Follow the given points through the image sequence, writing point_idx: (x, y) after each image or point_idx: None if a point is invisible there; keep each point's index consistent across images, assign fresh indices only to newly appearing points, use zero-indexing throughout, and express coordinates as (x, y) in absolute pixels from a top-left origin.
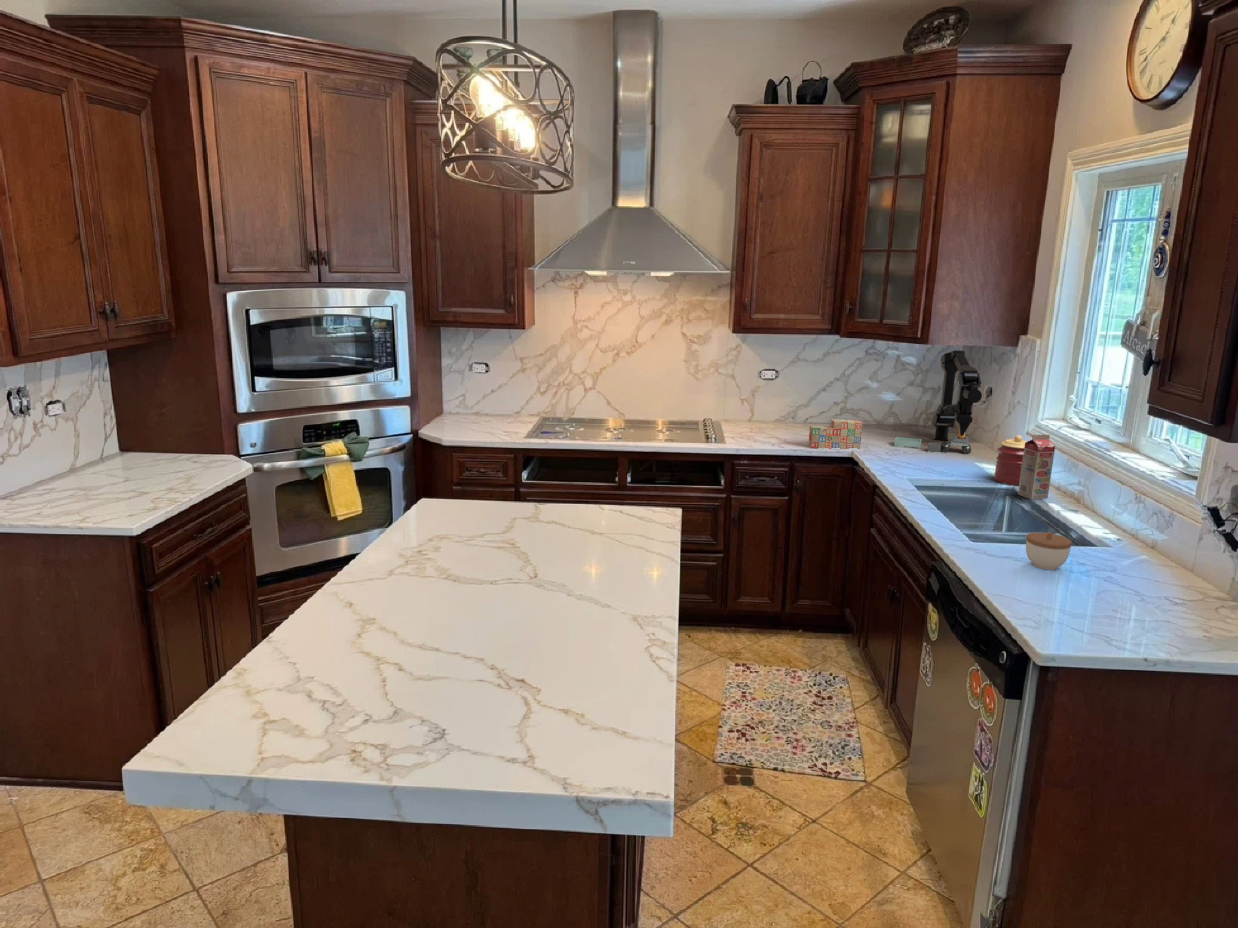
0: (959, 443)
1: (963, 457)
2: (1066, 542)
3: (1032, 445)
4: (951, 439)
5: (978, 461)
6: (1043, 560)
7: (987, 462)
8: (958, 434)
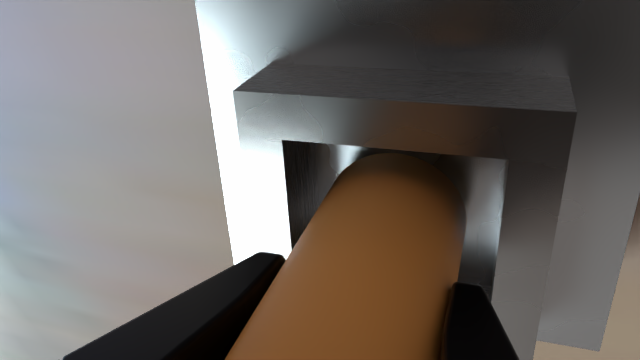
0: (220, 149)
1: (109, 128)
2: None
3: None
4: (602, 3)
5: (32, 245)
6: None
7: (48, 308)
8: (358, 223)
